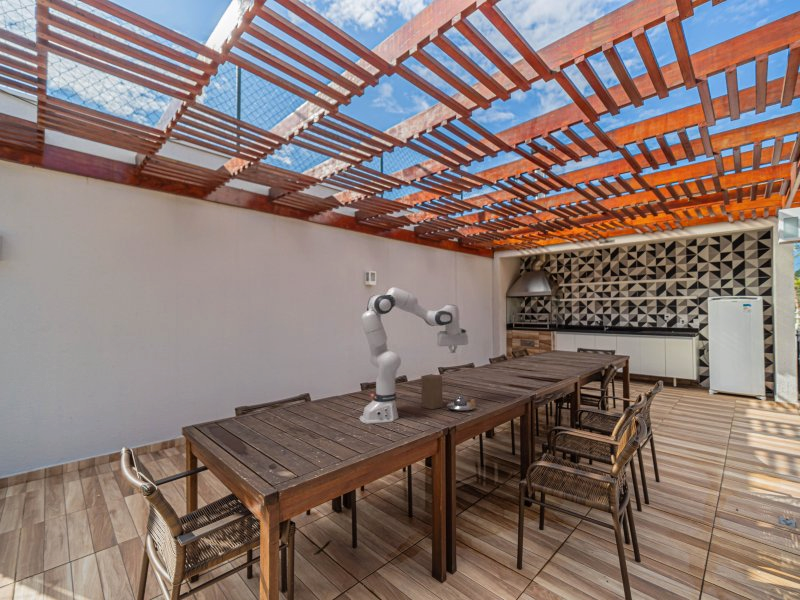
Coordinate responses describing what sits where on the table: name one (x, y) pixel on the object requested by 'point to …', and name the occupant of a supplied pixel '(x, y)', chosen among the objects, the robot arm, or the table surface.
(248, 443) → the table surface
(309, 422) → the table surface
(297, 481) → the table surface
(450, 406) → the turntable
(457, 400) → the cast cover
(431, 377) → the wooden block
